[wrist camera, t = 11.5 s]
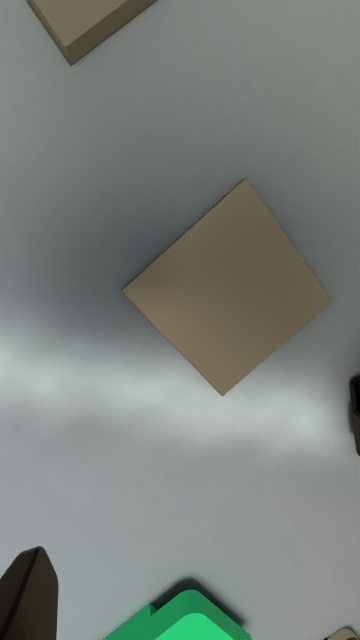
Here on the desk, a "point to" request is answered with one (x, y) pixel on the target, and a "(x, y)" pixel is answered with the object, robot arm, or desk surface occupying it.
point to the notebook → (343, 635)
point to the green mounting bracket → (181, 622)
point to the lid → (229, 289)
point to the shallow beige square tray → (84, 21)
